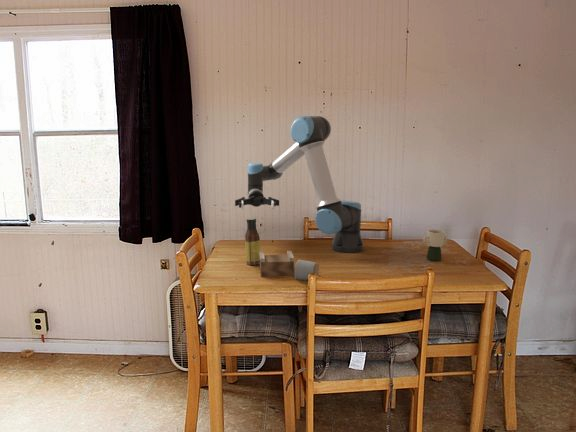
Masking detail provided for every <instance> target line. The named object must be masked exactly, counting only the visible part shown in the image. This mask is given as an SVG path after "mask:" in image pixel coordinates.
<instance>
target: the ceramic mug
mask: <svg viewBox="0 0 576 432" xmlns="http://www.w3.org/2000/svg"><path fill="white" fill-rule="evenodd" d="M319 270H320V269H319V264H318V262H315V261H310V260H305V259H304V260H303V259H298V260H297V261H296V263H295V265H294V278H295V279H296V280H299V281H300V280H302V281H308V280H307V279H308V275H309V274H310V273H314V274H316V275H317V276H319Z"/></svg>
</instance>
